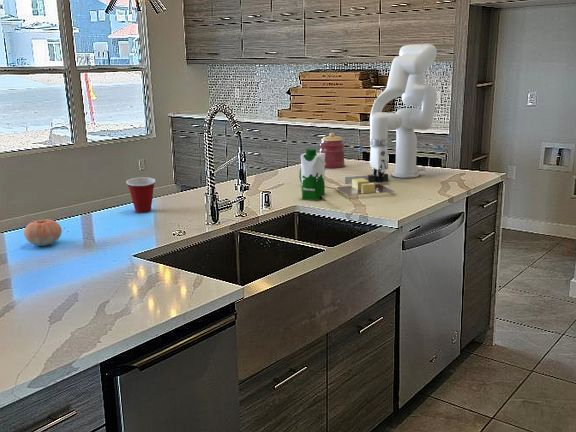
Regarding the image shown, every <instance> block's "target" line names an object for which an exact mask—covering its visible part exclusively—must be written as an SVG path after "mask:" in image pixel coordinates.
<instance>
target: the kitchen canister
mask: <svg viewBox="0 0 576 432" xmlns="http://www.w3.org/2000/svg"><path fill="white" fill-rule="evenodd" d="M320 140H321V142H320V143H319V147H320V149H319V153H325V169H340V168H343V167H345V151H346V150H345V148H344V146H345V142H344V141H343V140H344V139H343V137H341V136H339V135H335V133H334V132H333V131H332V132H329V135H327V136H323V137H322V138H321V139H320Z"/></svg>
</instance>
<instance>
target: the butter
mask: <svg viewBox="0 0 576 432" xmlns="http://www.w3.org/2000/svg"><path fill="white" fill-rule="evenodd" d="M362 184H369V181H368V180H365V179H363V178H360V179H352V183H351V186H352V187H353V188H354V189H356V190H362Z"/></svg>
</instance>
